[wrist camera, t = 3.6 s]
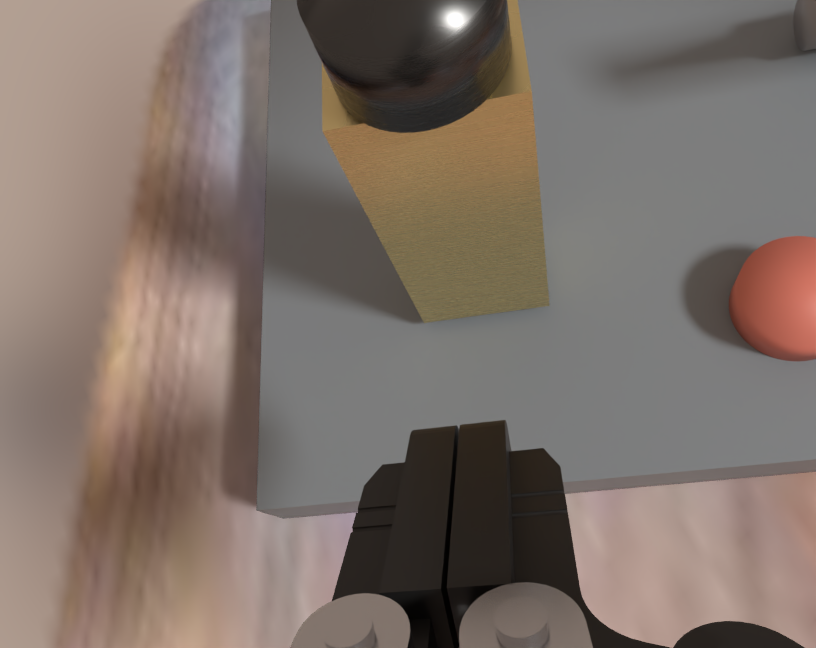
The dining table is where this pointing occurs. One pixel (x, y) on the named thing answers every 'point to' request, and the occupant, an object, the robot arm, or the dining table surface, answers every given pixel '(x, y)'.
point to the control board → (567, 267)
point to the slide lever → (438, 145)
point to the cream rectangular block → (805, 24)
